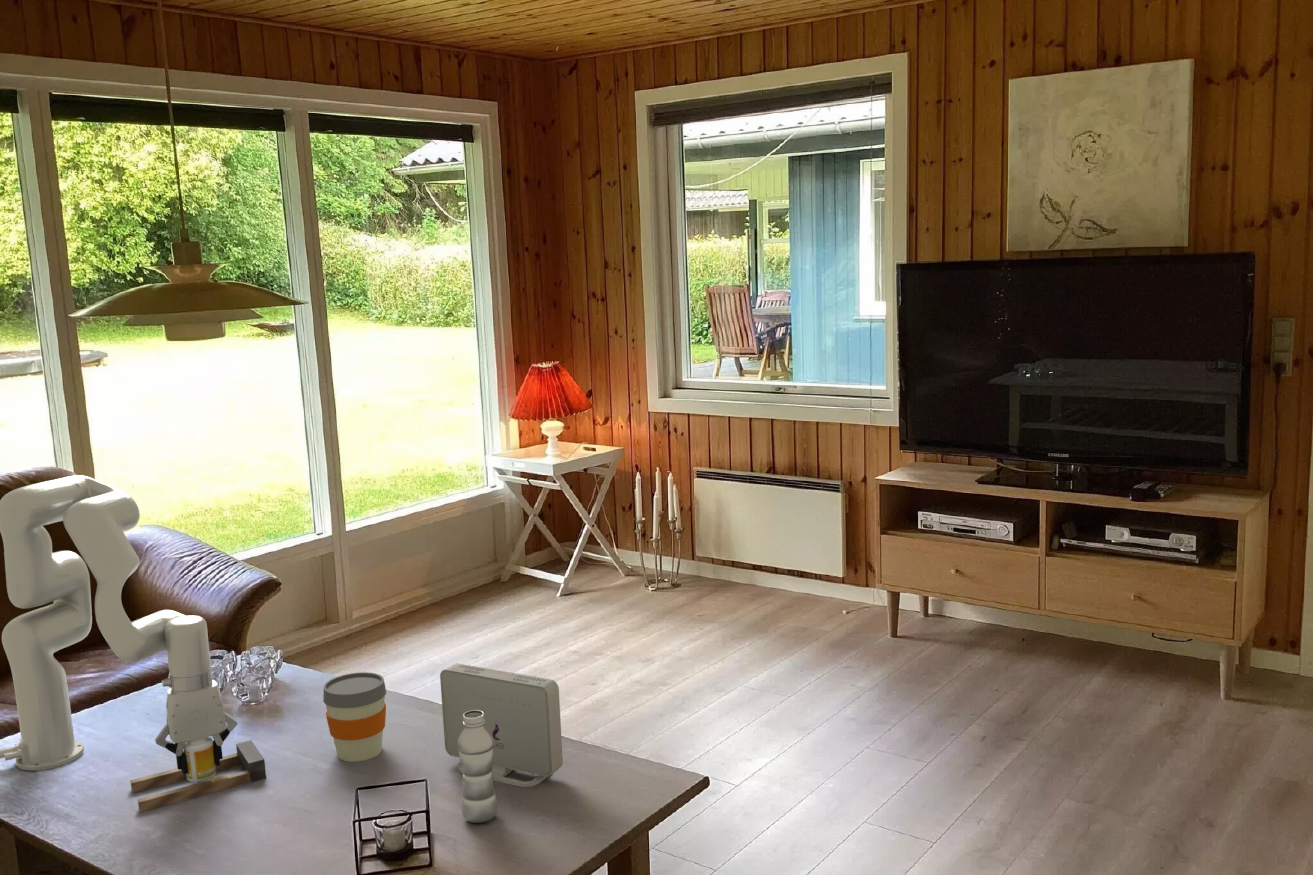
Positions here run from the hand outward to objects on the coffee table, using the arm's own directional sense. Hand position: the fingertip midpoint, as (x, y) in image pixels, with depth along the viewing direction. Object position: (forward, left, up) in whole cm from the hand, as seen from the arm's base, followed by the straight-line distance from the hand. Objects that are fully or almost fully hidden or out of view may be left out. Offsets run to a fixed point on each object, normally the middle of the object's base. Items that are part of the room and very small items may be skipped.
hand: (200, 766), depth 220 cm
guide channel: (-1, 0, -3) cm, 4 cm away
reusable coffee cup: (+30, -5, -4) cm, 31 cm away
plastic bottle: (+39, -46, -4) cm, 60 cm away
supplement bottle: (0, 0, -2) cm, 2 cm away
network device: (+51, -31, -4) cm, 59 cm away
